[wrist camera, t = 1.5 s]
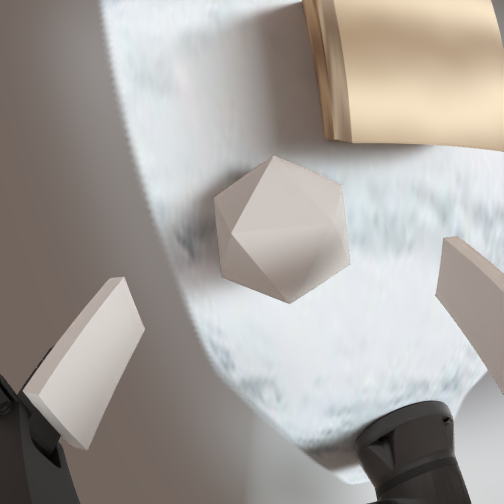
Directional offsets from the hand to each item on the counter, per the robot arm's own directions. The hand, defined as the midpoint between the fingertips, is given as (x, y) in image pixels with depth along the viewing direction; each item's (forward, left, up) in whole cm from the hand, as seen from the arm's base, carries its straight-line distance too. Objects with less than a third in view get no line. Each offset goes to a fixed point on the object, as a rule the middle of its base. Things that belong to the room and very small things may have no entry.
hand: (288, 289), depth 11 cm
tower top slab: (+10, -10, -8) cm, 16 cm away
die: (0, 0, -12) cm, 12 cm away
